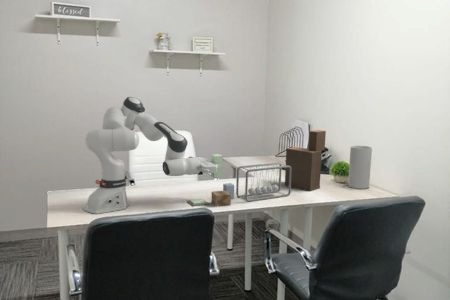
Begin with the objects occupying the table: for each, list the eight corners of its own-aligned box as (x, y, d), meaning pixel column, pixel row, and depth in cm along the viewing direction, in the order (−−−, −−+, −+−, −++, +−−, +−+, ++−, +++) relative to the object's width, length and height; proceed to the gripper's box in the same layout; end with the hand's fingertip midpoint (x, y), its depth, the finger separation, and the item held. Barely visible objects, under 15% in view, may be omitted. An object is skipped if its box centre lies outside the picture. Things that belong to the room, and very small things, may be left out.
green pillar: (214, 178, 222) (214, 156, 220) (210, 176, 226) (211, 154, 224) (221, 177, 224) (222, 155, 222) (218, 175, 228) (219, 153, 226)
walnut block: (215, 206, 214) (216, 195, 213) (211, 202, 222) (211, 191, 221) (230, 205, 217) (230, 194, 216) (225, 201, 224) (225, 190, 223)
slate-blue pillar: (226, 200, 226) (226, 185, 225) (223, 197, 230) (223, 183, 229) (233, 199, 228) (234, 185, 226) (230, 197, 232) (230, 183, 231)
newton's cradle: (245, 202, 222) (246, 170, 219) (235, 197, 231) (236, 166, 228) (290, 196, 236) (292, 165, 234) (279, 191, 245) (280, 162, 243)
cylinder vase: (343, 185, 263) (346, 146, 259) (358, 183, 268) (361, 145, 264) (358, 190, 252) (361, 149, 248) (373, 188, 258) (376, 148, 253)
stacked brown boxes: (323, 187, 257) (326, 130, 251) (310, 191, 247) (313, 132, 241) (297, 181, 270) (300, 127, 264) (284, 185, 260) (286, 129, 254)
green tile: (192, 206, 214) (192, 204, 213) (187, 201, 222) (187, 199, 222) (209, 204, 217) (209, 202, 217) (202, 199, 225) (203, 197, 225)
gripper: (201, 164, 208) (226, 162, 214) (187, 155, 226) (211, 154, 232) (201, 177, 210) (226, 174, 216) (187, 167, 228) (210, 165, 234)
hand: (218, 163), depth 224 cm, fingers closed on green pillar, 4 cm apart
